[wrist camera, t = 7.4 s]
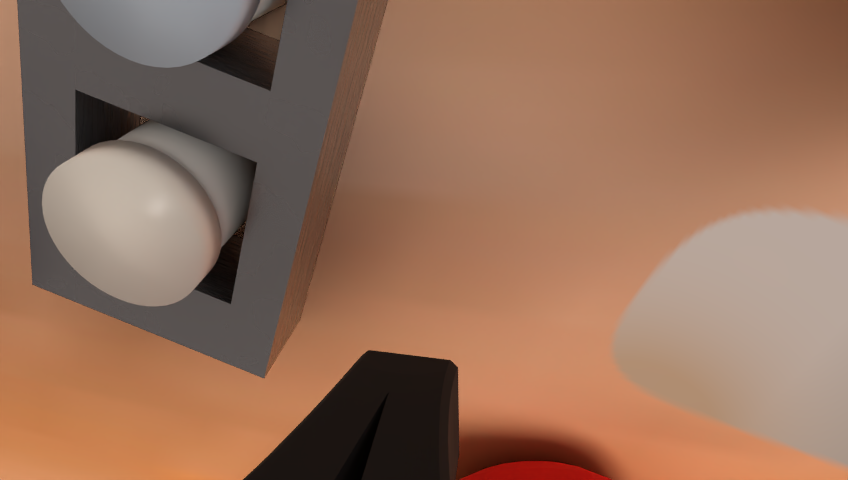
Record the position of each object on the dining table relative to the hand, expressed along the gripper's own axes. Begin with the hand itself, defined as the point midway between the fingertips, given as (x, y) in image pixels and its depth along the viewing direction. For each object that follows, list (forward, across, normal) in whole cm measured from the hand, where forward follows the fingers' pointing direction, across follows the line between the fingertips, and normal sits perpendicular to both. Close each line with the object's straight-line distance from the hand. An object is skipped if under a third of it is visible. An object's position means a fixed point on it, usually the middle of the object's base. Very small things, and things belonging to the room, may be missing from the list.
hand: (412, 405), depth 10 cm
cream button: (+10, +9, +1) cm, 13 cm away
